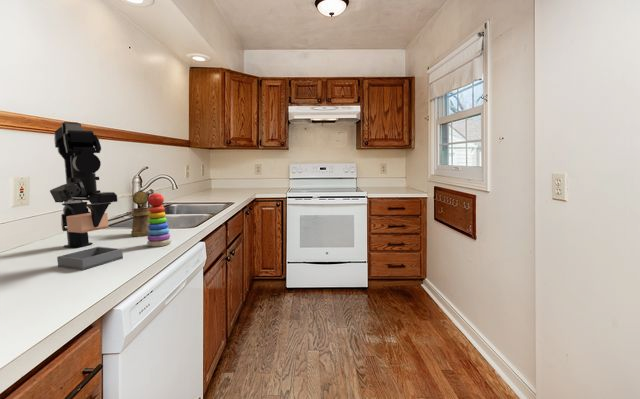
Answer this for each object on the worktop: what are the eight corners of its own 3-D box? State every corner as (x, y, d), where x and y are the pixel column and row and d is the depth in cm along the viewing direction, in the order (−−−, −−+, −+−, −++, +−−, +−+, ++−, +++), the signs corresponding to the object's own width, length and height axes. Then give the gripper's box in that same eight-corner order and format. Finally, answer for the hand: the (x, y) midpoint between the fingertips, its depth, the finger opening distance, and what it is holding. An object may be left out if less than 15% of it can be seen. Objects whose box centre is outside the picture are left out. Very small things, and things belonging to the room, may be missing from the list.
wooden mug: (154, 229, 153) (151, 189, 151) (155, 235, 141) (152, 191, 139) (131, 231, 149) (128, 190, 147) (131, 237, 137) (127, 193, 135)
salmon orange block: (67, 231, 98) (66, 216, 98) (94, 226, 106) (93, 212, 105) (82, 232, 96) (80, 217, 96) (108, 227, 104) (107, 213, 103)
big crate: (58, 266, 98) (57, 256, 98) (99, 255, 110) (98, 246, 109) (83, 270, 95) (82, 259, 94) (122, 258, 106) (122, 248, 106)
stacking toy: (175, 242, 127) (172, 192, 125) (164, 247, 120) (160, 194, 118) (155, 242, 128) (152, 192, 126) (142, 247, 120) (138, 194, 118)
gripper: (31, 174, 95) (37, 230, 97) (78, 174, 89) (83, 233, 90) (72, 173, 106) (77, 223, 107) (116, 173, 99) (120, 226, 101)
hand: (88, 226), depth 101 cm, fingers closed on salmon orange block, 6 cm apart
